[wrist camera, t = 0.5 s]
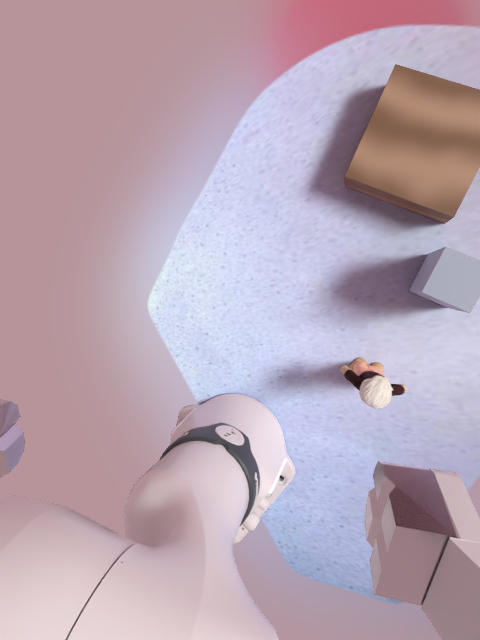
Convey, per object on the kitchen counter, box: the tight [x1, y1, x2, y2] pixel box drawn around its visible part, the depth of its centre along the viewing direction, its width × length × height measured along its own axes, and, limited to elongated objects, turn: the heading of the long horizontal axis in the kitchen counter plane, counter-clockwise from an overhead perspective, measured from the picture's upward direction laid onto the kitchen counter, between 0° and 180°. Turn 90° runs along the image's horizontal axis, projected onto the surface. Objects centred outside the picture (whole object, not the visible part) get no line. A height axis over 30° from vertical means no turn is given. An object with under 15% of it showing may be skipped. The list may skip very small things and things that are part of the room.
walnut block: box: [345, 64, 480, 224], centre depth 47 cm, size 13×13×5 cm
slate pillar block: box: [409, 247, 480, 313], centre depth 45 cm, size 5×5×10 cm
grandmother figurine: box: [340, 358, 407, 409], centre depth 47 cm, size 8×4×13 cm, turn 85°
